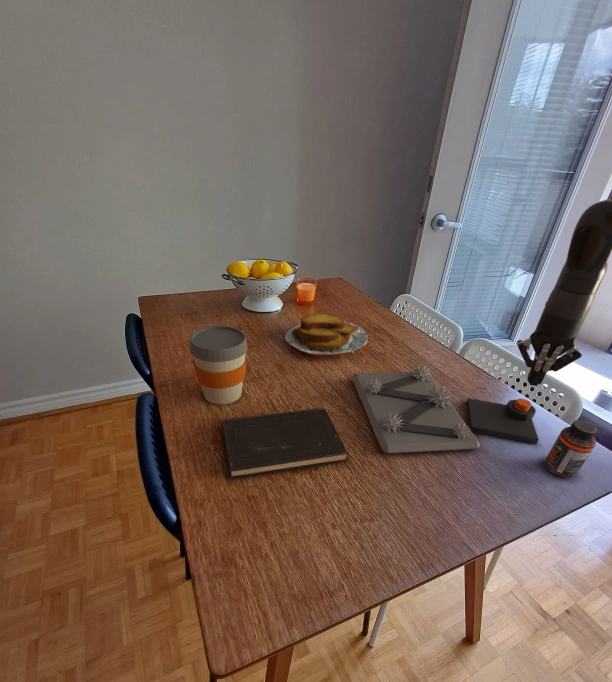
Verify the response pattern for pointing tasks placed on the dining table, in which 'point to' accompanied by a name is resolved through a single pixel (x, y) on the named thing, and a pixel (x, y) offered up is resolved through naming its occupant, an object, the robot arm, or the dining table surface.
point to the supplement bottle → (571, 449)
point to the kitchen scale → (501, 420)
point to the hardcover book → (281, 442)
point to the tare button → (522, 405)
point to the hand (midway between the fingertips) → (532, 383)
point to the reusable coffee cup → (219, 362)
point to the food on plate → (326, 335)
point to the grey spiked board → (412, 412)
